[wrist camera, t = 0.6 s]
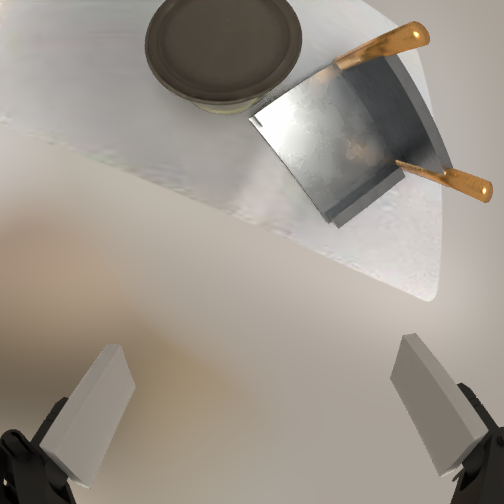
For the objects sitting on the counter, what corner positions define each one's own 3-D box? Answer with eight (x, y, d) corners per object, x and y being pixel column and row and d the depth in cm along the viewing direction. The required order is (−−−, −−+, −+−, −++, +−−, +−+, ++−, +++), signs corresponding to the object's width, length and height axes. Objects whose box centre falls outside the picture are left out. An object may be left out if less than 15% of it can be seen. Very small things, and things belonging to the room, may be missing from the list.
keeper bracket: (247, 117, 28) (264, 106, 14) (341, 55, 25) (419, 18, 11) (328, 223, 35) (388, 292, 20) (407, 162, 32) (494, 195, 17)
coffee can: (177, 40, 23) (144, -11, 11) (268, 32, 24) (294, -24, 11) (183, 120, 28) (148, 116, 15) (274, 112, 28) (308, 101, 16)
